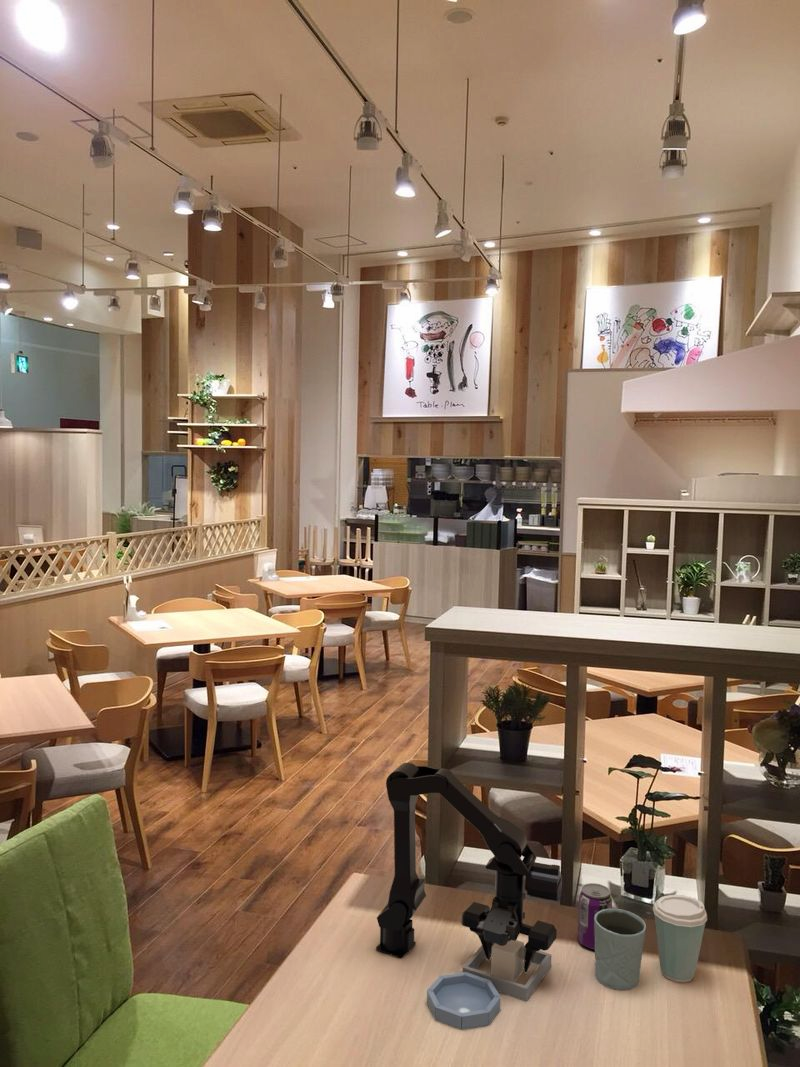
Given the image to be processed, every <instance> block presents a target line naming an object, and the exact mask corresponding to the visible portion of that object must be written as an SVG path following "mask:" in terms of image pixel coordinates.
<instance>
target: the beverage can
mask: <svg viewBox="0 0 800 1067" xmlns="http://www.w3.org/2000/svg"><path fill="white" fill-rule="evenodd" d="M580 890H581V891H580V892H579V895H578V914H577V915H578V916H577V918H578V920H577V941H578V942H579V944H581V945H582V946H585V947H586V948H587V949H591V950H595V927H594V917H595V914H596V913H597V912H599V911H601V910H604V909H613V898H612V896H611V890H610V889H609V887H607V886H605V885H604V884H600V883H594V882H592V883H591V882H590V883H585V884H583V885H582V886H581V888H580Z"/></svg>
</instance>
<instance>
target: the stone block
mask: <svg viewBox="0 0 800 1067" xmlns="http://www.w3.org/2000/svg"><path fill="white" fill-rule="evenodd" d="M524 946H525V942H524V941H521V940H518V939H517V940H516V941H514V940H510V942H509V941H508V942H507V944H506V945H504V946H500V945H498V944H496V943H495V944H494V945H493V946H492V954H491V959H490V961H491V964H490V971H491V972H490V974H491V975H494V976H497V977H500V978H503V979H506V980H509V981H512V982H515V983H516V981H517V980H518V978H519V977H520V975H521V974H522V973H523V971H524V963H525V960H524Z"/></svg>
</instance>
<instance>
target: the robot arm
mask: <svg viewBox="0 0 800 1067" xmlns="http://www.w3.org/2000/svg"><path fill="white" fill-rule="evenodd" d="M385 786H386V787H385V788H386V792H387V798H388V801H389V803H390V806H391V807H392V810H393V844H394V845H393V850H394V854H393V856H394V863H393V864H394V877H393V880H392V884H391V887H390V890H389V895H388V901H387V903H386V904H385V906H384V908H383V909H382V910H381V912H380V913H379V914H378V915H377V916H376V920H377V923H378V924H377V925H378V927H379V944H378V945H376V947H375V950H376V951H378V952H381V953H384V954H387V955H390V956H393V957H395V958H399V959H403V958H404V957H406V955H407V954H408V953H409V952H410V951H411V950H412V949H413V948H414V947H415V946H416V944H417V942H416V941H415V927H413V921H414V919H412V917H413V916H414V914H415V913H417V910H418V909H419V908H420V906H421V905H422V903H423V902H424V899H426V897H427V895H426V892H425V886H426V879H425V878H420V877H419V876H418V874H417V869H416V868H417V866H416V864H417V862H416V861H417V858H416V855H417V854H416V805H417V801H418V798H419V796H421V795H427V794H431V793H432V794H439V795H440V796H441V797H442V798H443V799H444V800H445V801H446V802H447V803H448V804H450V805H451V806H452V807H453V808H454V809H455V811H457V812H458V813H459V814H460V815H461V816H462V817H463V818H464V819H465V820H466V821H467V822H468V823H469V824H470V825H472V826H473V827H474V828H475V829H476V830H477V831H478V832H479V834H480V835H481V836H482V838H483V840H484V842H485V845H486V846H487V848H488V849H489V851H490V852H491V853H492V854H493V857H491V858H490V859H489V860H488V862H487V863H486V865H485V869H487V870H491V871H495V881H494V882H495V884H494V885H495V886H494V897H493V898H492V902H491V907H490V906H489V905H487V904H482V903H481V902H480V903H479V902H476V901H473V902H471V904H470V905H469V906H467V908H465V909H464V910H463V912H462V914H461V926H463V927H467V928H469V931H471V932H473V933H474V934H475V935H477V936H478V938H479V940H480V943H481V946H483V949H484V952H485V955H486V957H485V959H486V960H487V961H491V959H492V942H493V943H496V944H498V945H500V946H504V945H506V944H507V942H508V941H509V942H510V940H514V941H516V940H518V937H519V935H520V934H521V935H525V936H528V937H527V942H526V944H524V947H525V949H526V954H525V960H524V965H523V971H524V973H527V972H528V971H529V969H530V968H531V964H532V963H533V962H532V960H533V957H534V955H535V953H536V951H543V952H544V951H548V950H549V949H550V948H551V946H552V945H553V943H554V942H555V941H556V940H557V934H558V933H557V928H556V926H555V925H554V924H553V923H552V924H551V923H549V922H545V921H541V920H538V919H537V921H535V923H534V924H533V925H530V924H526V923H523V922H524V919H525V917H526V912H524V901H525V900H526V894H527V896H529V897H530V898H534V899H540V900H545V901H550V902H556V903H559V902H560V900H561V896H562V888H563V877H562V873H561V866H560V865H557V864H547V863H543V862H542V863H541V862H536V860H537V855H536V854H535V852H534V851H533V849H532V848H531V846H530V845H529V844H528V840H527V834H526V833H525V831H524V830H523V829H522V828H520V827H519V826H517V825H516V824H515V823H513V822H512V821H510V820H508V819H506V818H503V817H501V816H498V815H497V814H495V812H493V811H492V810H491V809H490V808H489V807H488V806H487V805H485V803H483V801H482V800H480V799H479V798H478V797H477V796H476V795H475V794H474V793H473V792H472V791H471V790H469V788H467V787H466V785H464V784H463V783H462V782H461V781H460V780H459V779H458V778H457V777H455V775H454V773H453V772H452V771H451V770H450V769H449V768H445V767H444V768H436V767H434V766H428V765H416V764H414V763H412V762H403V763H402V764H401V763H400V765H399V766H398V767H396V768H395V769H394V770H392V772H391V773H390V774H389V775H388V776H387V778H386V779H385ZM522 857H523V858H522ZM524 889H525V891H526V892H524Z"/></svg>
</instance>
